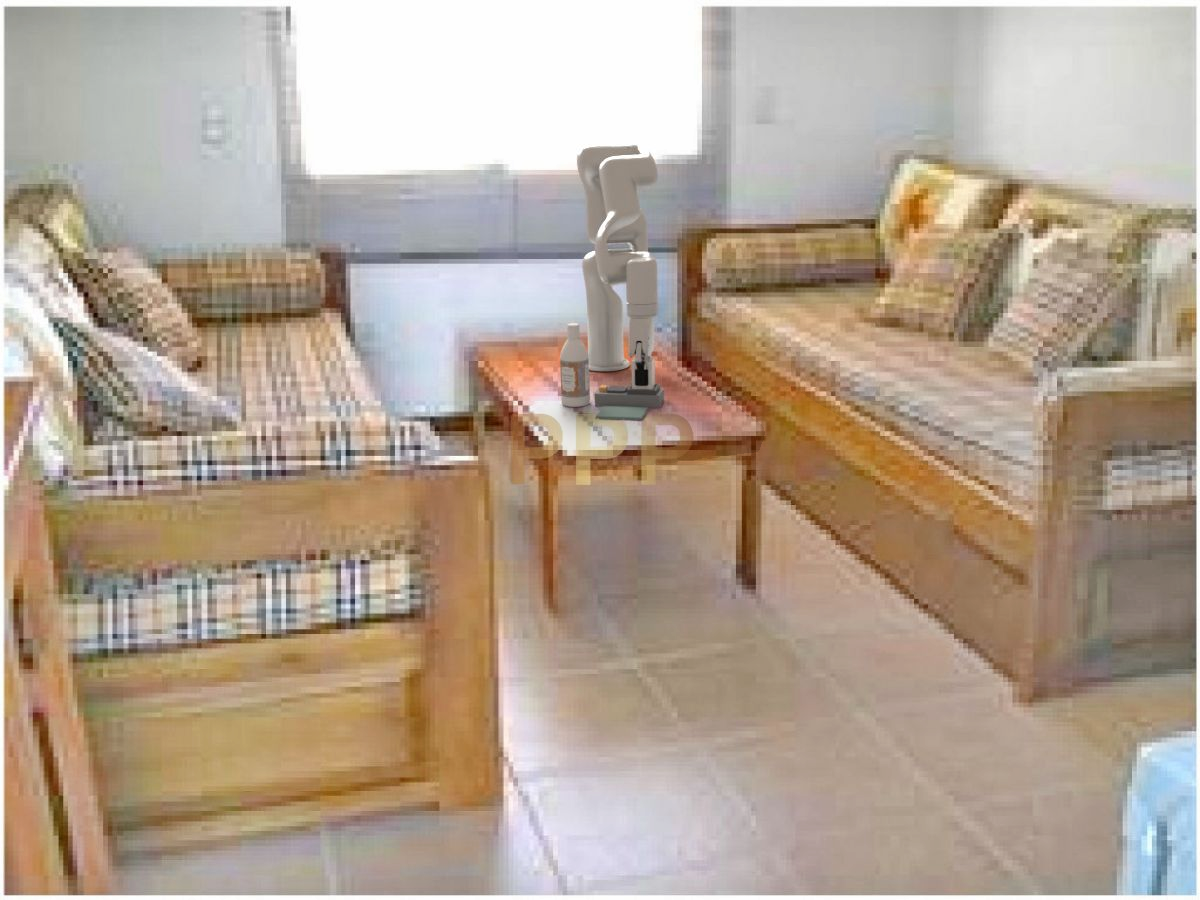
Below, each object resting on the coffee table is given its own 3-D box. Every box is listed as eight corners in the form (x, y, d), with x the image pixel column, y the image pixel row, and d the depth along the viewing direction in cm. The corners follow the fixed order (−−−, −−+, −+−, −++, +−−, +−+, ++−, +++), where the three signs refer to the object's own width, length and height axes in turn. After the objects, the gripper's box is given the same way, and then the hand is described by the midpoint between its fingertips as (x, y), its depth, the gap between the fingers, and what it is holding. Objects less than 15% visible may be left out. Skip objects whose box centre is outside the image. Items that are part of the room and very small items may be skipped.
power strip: (600, 397, 344) (600, 381, 343) (664, 399, 341) (663, 383, 340) (594, 405, 338) (594, 389, 336) (659, 407, 334) (659, 390, 333)
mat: (603, 408, 335) (603, 405, 335) (647, 409, 333) (647, 407, 333) (595, 418, 327) (595, 416, 327) (641, 420, 325) (641, 417, 324)
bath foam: (556, 405, 339) (553, 325, 333) (572, 398, 344) (569, 320, 338) (579, 409, 335) (576, 328, 329) (595, 402, 341) (593, 322, 334)
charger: (634, 388, 340) (634, 350, 337) (654, 389, 339) (654, 351, 336) (632, 393, 336) (631, 354, 333) (652, 393, 335) (651, 355, 332)
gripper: (633, 301, 340) (634, 374, 346) (620, 316, 324) (621, 391, 330) (663, 302, 338) (664, 374, 344) (651, 316, 323) (652, 392, 328)
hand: (643, 382), depth 337 cm, fingers closed on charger, 4 cm apart
